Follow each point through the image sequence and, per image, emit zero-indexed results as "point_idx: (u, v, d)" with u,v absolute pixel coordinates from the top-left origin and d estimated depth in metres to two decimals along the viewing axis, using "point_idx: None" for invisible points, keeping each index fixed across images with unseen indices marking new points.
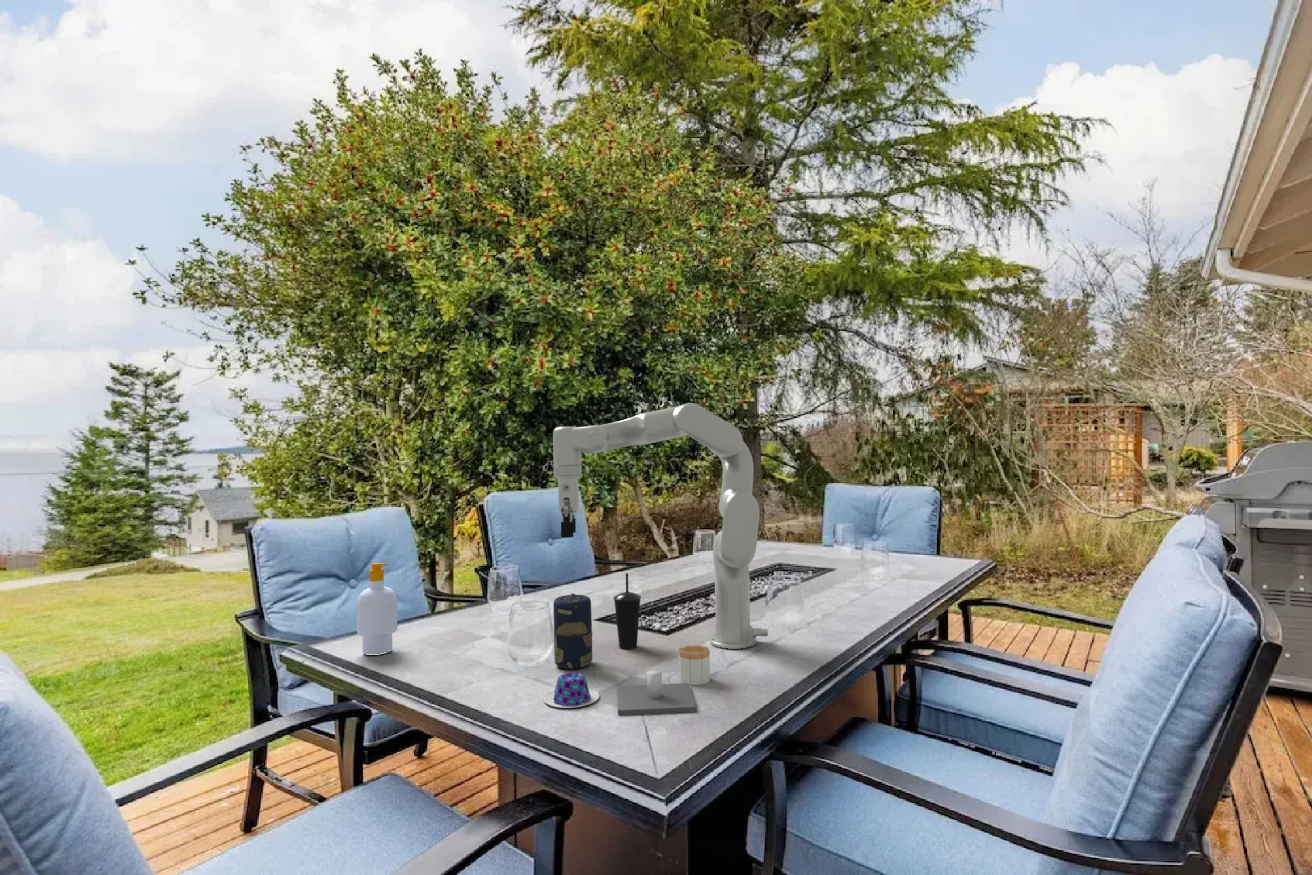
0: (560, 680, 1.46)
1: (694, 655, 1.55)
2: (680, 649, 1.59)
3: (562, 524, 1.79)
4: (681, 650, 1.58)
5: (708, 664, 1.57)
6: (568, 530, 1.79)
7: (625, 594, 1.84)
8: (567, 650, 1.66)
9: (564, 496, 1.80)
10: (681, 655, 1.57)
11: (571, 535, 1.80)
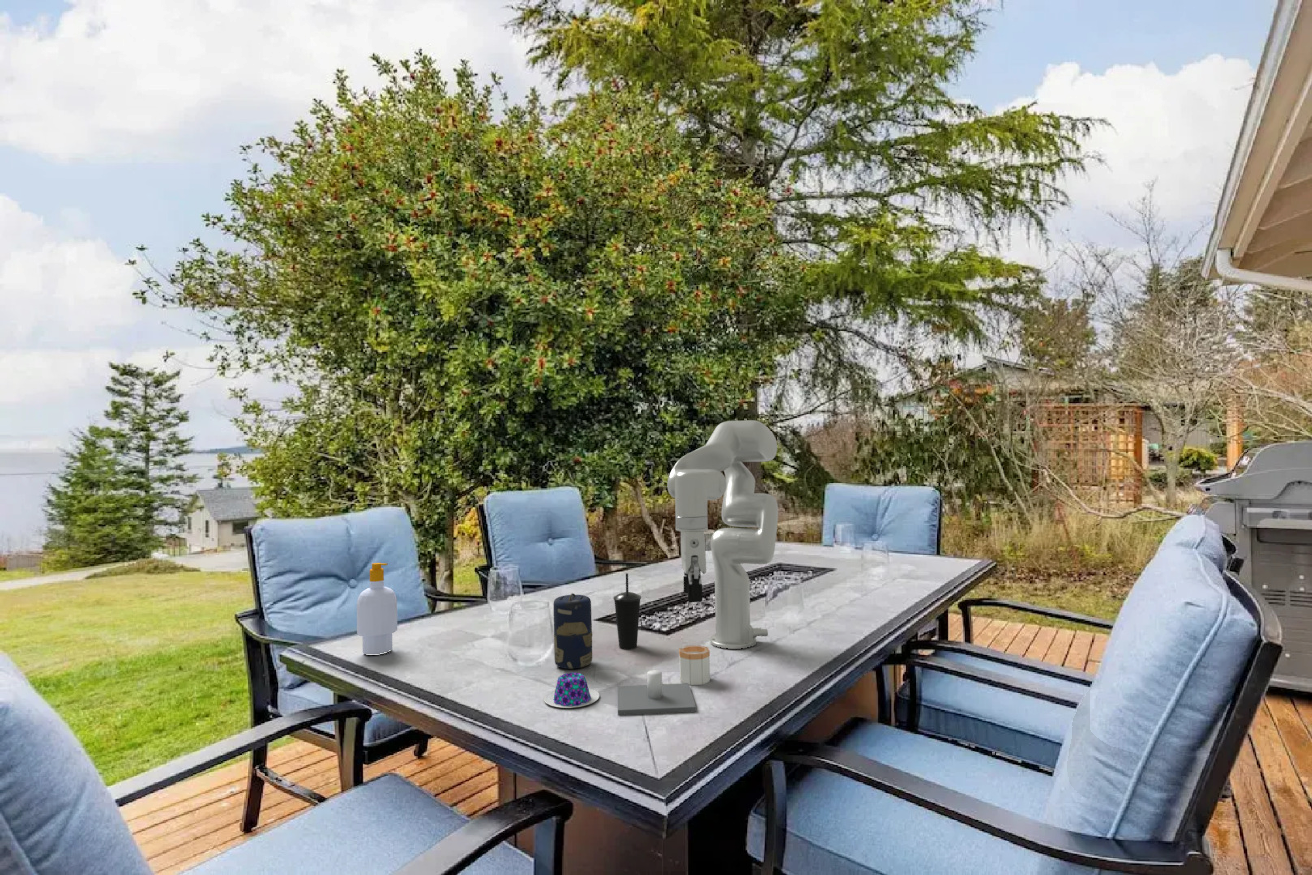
0: (560, 680, 1.46)
1: (694, 655, 1.55)
2: (680, 649, 1.59)
3: (689, 586, 1.53)
4: (681, 650, 1.58)
5: (708, 664, 1.57)
6: (697, 594, 1.53)
7: (625, 594, 1.84)
8: (567, 650, 1.66)
9: (692, 553, 1.54)
10: (681, 655, 1.57)
11: (700, 599, 1.53)
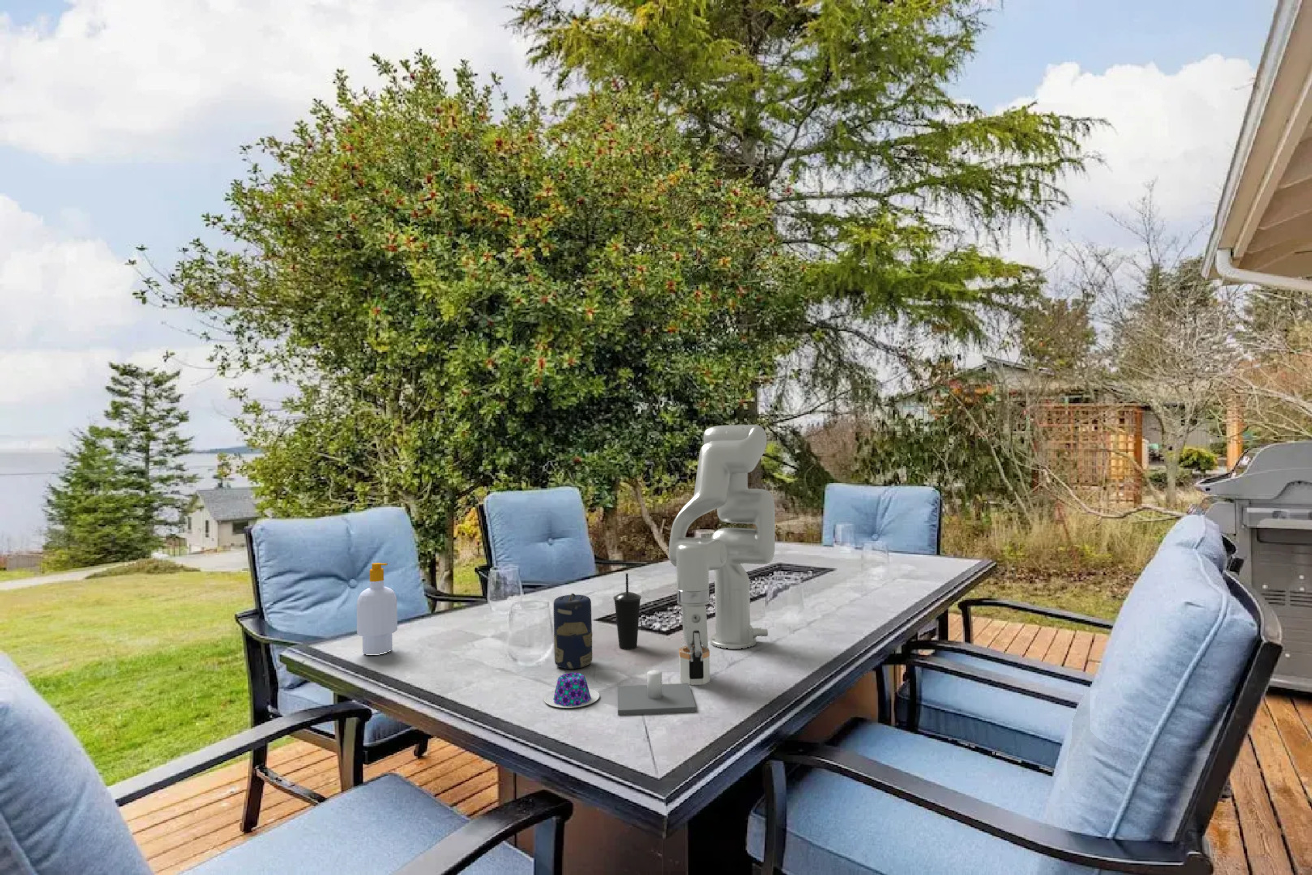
0: (560, 680, 1.46)
1: None
2: (680, 649, 1.59)
3: (691, 663, 1.54)
4: (681, 650, 1.58)
5: (708, 664, 1.57)
6: (698, 671, 1.54)
7: (625, 594, 1.84)
8: (567, 650, 1.66)
9: (693, 629, 1.54)
10: (681, 655, 1.57)
11: (701, 676, 1.54)
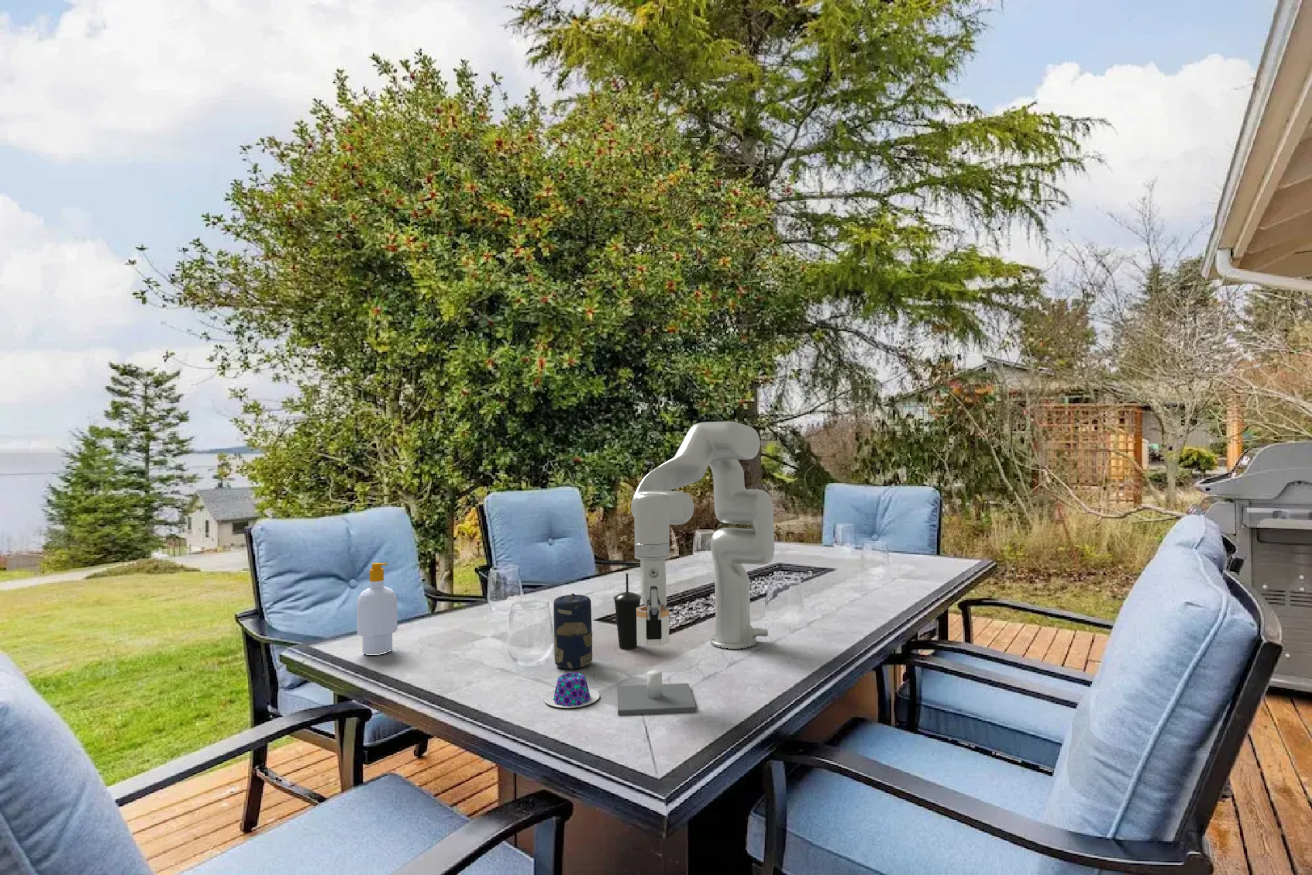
0: (561, 680, 1.46)
1: None
2: (637, 608, 1.46)
3: (648, 622, 1.42)
4: (638, 609, 1.45)
5: (667, 624, 1.44)
6: (656, 631, 1.41)
7: (625, 594, 1.84)
8: (567, 650, 1.66)
9: (651, 584, 1.41)
10: (638, 614, 1.44)
11: (659, 636, 1.42)
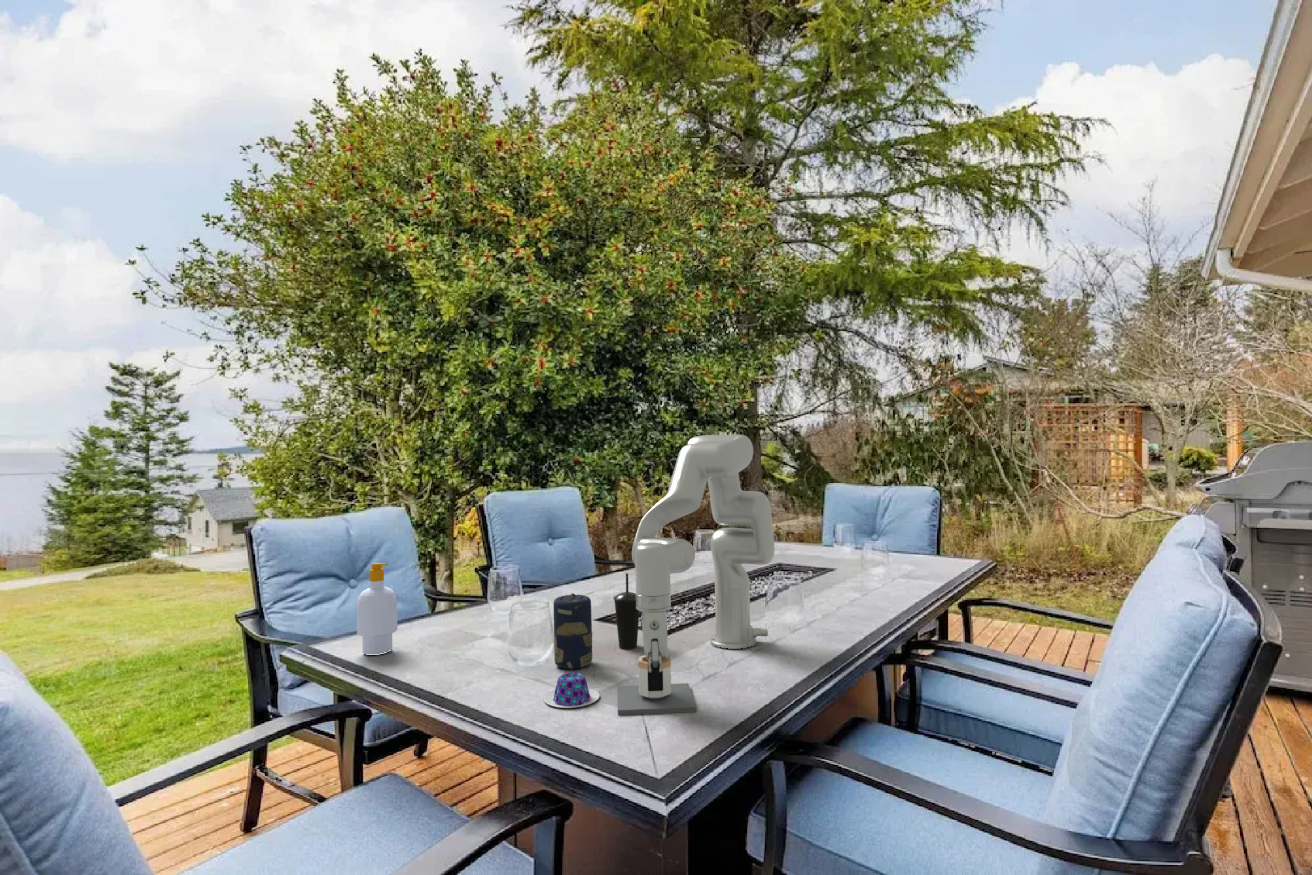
0: (561, 680, 1.46)
1: None
2: (639, 658, 1.46)
3: (649, 674, 1.42)
4: (640, 659, 1.46)
5: (669, 674, 1.44)
6: (657, 683, 1.41)
7: (625, 594, 1.84)
8: (567, 650, 1.66)
9: (652, 637, 1.41)
10: (639, 665, 1.44)
11: (660, 688, 1.42)
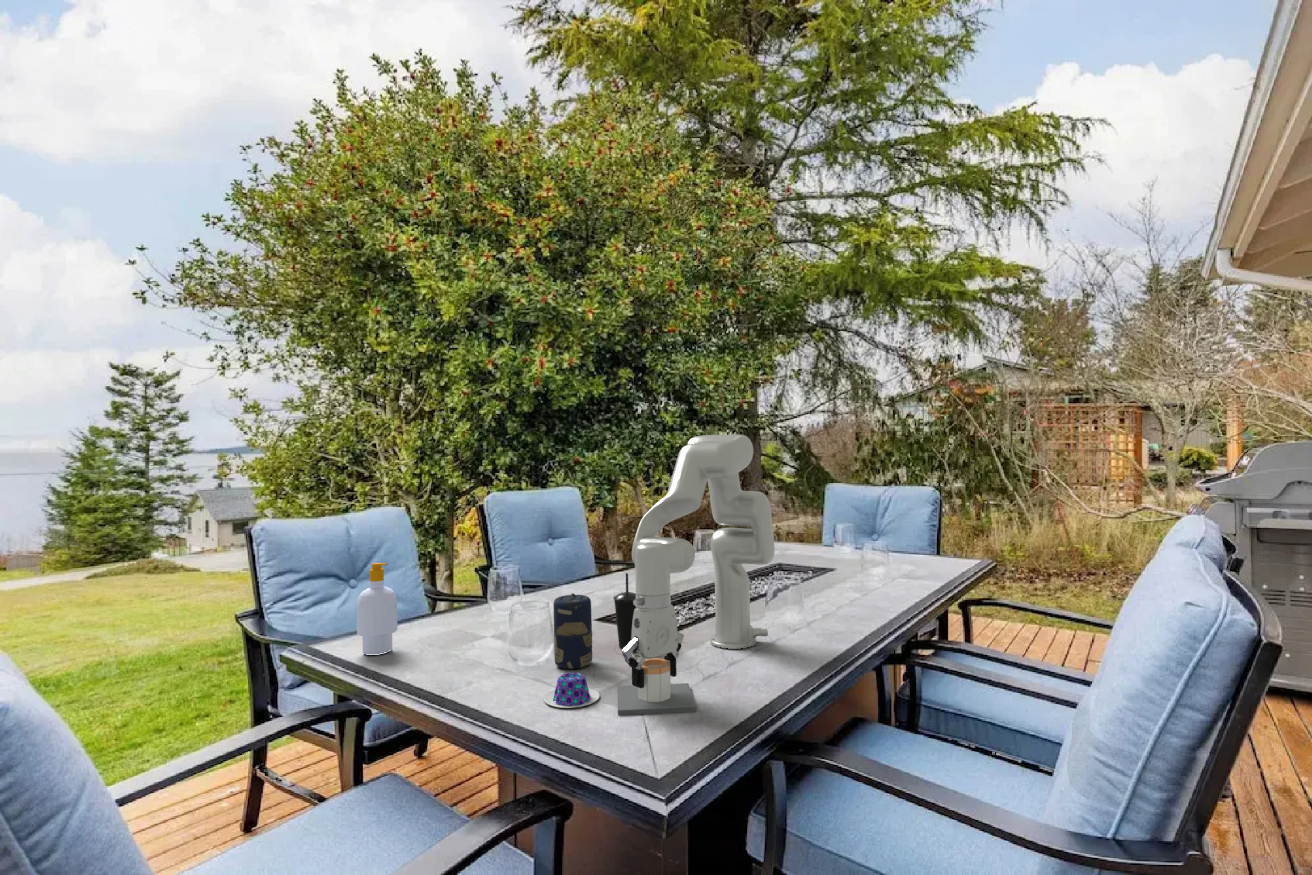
0: (562, 681, 1.46)
1: None
2: (646, 659, 1.49)
3: None
4: None
5: (658, 682, 1.43)
6: (635, 679, 1.42)
7: (625, 594, 1.84)
8: (567, 650, 1.66)
9: (634, 634, 1.43)
10: None
11: (640, 685, 1.42)
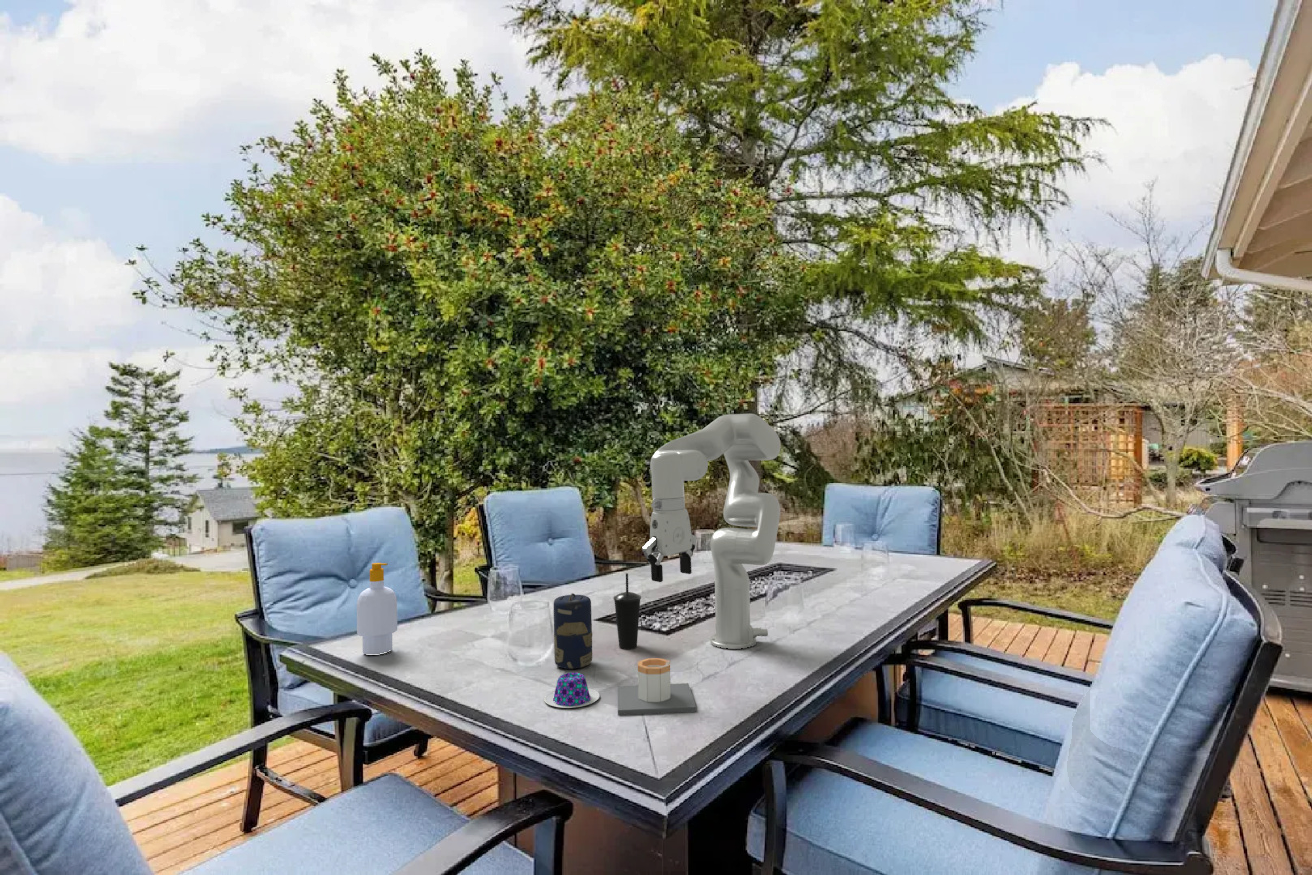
0: (563, 681, 1.46)
1: (641, 668, 1.44)
2: (646, 659, 1.49)
3: None
4: (643, 660, 1.48)
5: (658, 682, 1.43)
6: (655, 574, 1.56)
7: (625, 594, 1.84)
8: (567, 650, 1.66)
9: (653, 534, 1.57)
10: None
11: (659, 580, 1.56)
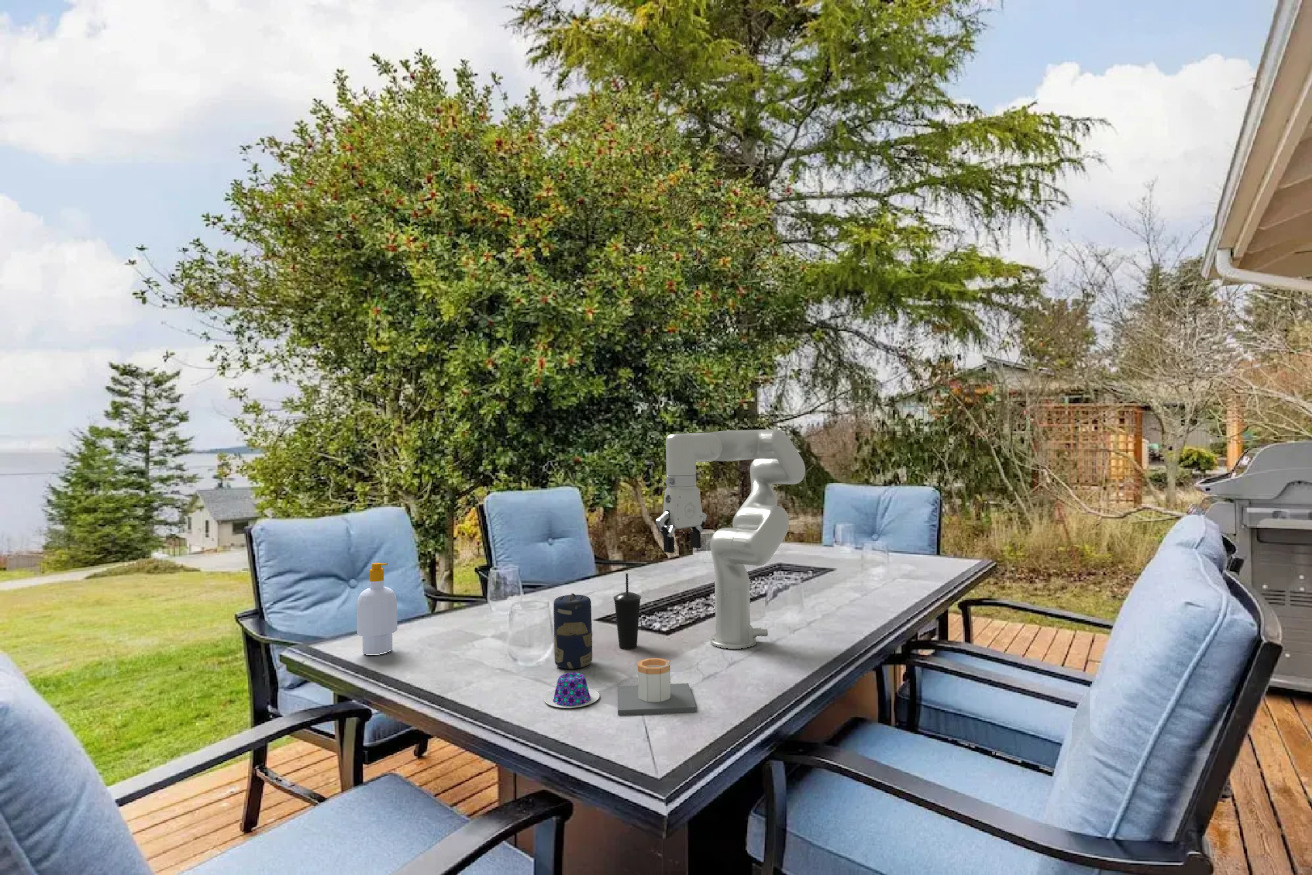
0: (563, 681, 1.45)
1: (641, 668, 1.44)
2: (646, 659, 1.49)
3: None
4: (643, 660, 1.48)
5: (658, 682, 1.43)
6: (667, 545, 1.67)
7: (625, 594, 1.84)
8: (567, 650, 1.66)
9: (666, 508, 1.69)
10: None
11: (671, 551, 1.67)
